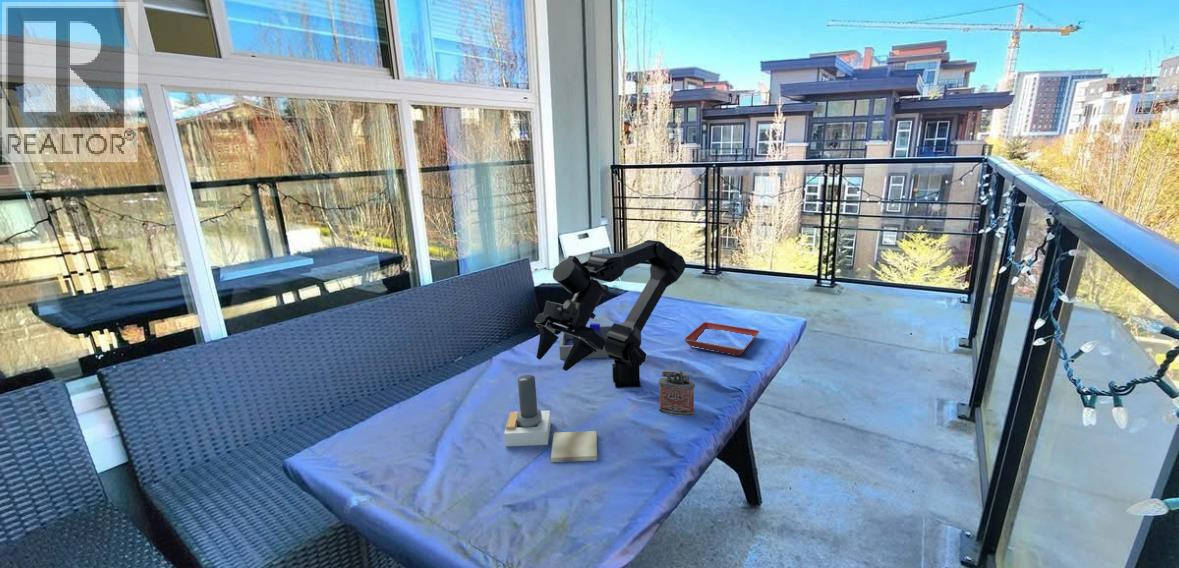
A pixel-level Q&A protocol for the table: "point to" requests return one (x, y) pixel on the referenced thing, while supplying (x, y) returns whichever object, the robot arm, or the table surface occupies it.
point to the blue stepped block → (595, 327)
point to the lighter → (676, 393)
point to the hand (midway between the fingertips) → (550, 364)
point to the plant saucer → (698, 331)
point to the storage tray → (567, 348)
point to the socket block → (527, 431)
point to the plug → (528, 402)
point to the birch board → (574, 446)
